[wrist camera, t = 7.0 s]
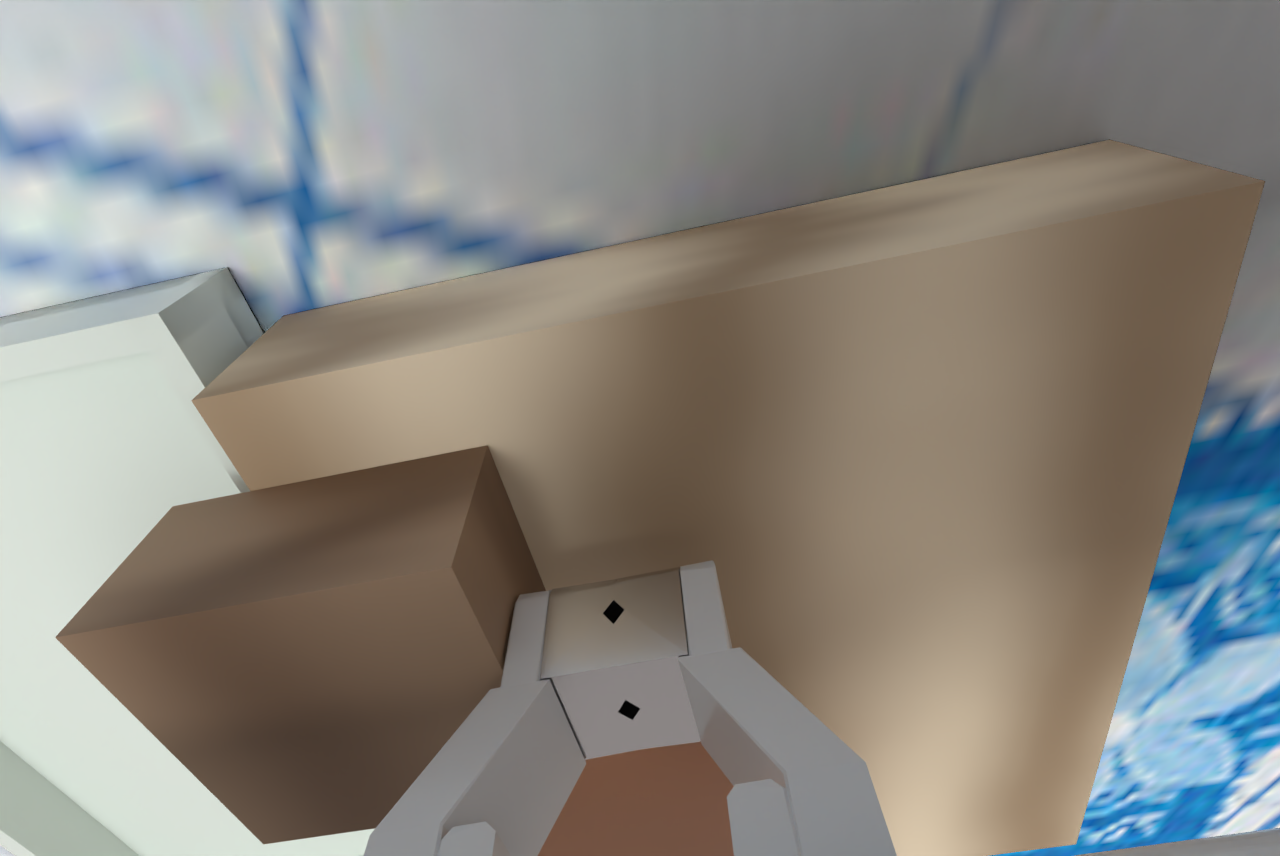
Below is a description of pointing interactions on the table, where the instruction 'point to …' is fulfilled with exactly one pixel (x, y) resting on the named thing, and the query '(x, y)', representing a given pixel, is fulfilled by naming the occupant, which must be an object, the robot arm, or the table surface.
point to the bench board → (834, 445)
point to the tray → (106, 561)
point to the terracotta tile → (646, 806)
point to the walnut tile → (315, 635)
